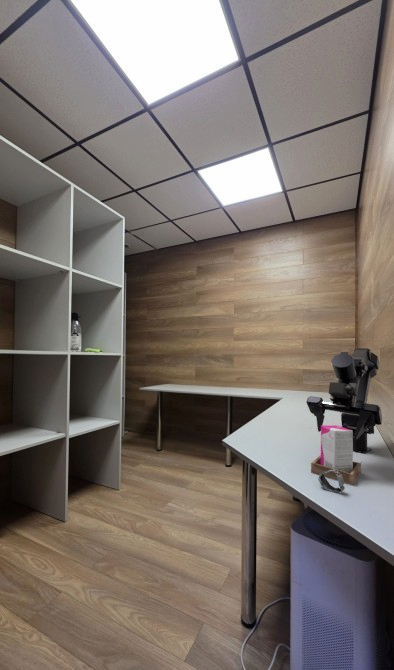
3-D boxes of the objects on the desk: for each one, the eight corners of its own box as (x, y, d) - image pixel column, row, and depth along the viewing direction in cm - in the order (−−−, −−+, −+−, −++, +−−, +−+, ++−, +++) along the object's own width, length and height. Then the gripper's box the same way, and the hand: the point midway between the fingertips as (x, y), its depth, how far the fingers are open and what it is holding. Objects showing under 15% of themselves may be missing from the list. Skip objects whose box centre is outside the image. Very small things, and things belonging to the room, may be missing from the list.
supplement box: (354, 475, 70) (353, 430, 71) (334, 476, 69) (334, 430, 70) (338, 465, 76) (338, 424, 76) (319, 466, 75) (319, 424, 75)
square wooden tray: (322, 462, 79) (322, 453, 79) (361, 472, 72) (360, 463, 73) (311, 472, 72) (311, 462, 72) (352, 485, 65) (352, 474, 65)
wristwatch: (334, 494, 64) (319, 473, 66) (351, 486, 61) (334, 464, 63) (328, 499, 62) (313, 478, 64) (345, 491, 59) (329, 469, 61)
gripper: (308, 370, 84) (294, 410, 75) (379, 374, 72) (372, 424, 63) (317, 393, 90) (304, 433, 81) (384, 401, 77) (378, 450, 68)
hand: (336, 434), depth 73 cm, fingers open, 9 cm apart
